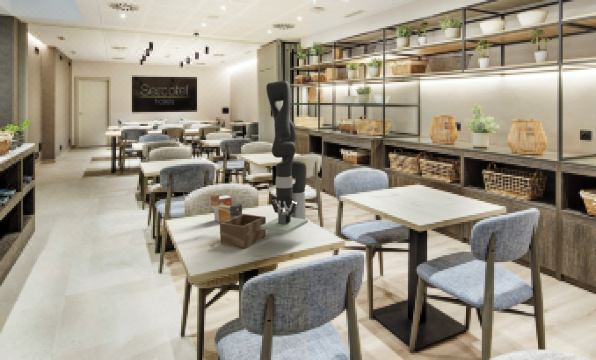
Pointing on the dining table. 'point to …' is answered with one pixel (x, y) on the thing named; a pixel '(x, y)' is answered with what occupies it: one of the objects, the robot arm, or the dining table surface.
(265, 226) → the lid
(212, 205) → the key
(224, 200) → the small box
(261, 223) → the wooden box
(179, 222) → the dining table surface
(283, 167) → the robot arm
